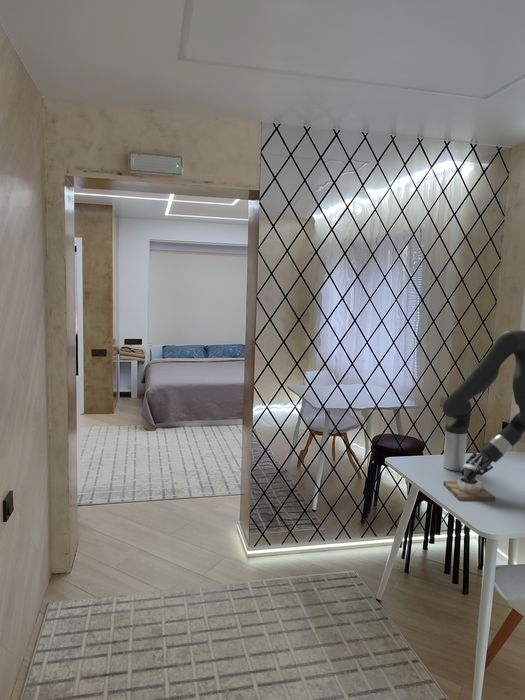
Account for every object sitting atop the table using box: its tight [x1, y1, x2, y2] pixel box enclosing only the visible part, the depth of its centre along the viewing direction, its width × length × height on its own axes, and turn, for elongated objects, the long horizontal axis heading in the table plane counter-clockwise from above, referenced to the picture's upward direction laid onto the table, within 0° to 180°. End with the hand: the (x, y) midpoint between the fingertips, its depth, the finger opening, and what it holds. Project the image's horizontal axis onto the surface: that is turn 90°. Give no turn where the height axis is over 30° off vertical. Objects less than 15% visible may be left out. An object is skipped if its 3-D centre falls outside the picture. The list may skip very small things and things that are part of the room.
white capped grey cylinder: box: [463, 463, 477, 483], centre depth 201 cm, size 5×5×10 cm
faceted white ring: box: [456, 476, 482, 493], centre depth 201 cm, size 9×9×4 cm
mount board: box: [443, 480, 496, 502], centre depth 201 cm, size 16×14×2 cm
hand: (464, 476), depth 201 cm, fingers open, 5 cm apart
